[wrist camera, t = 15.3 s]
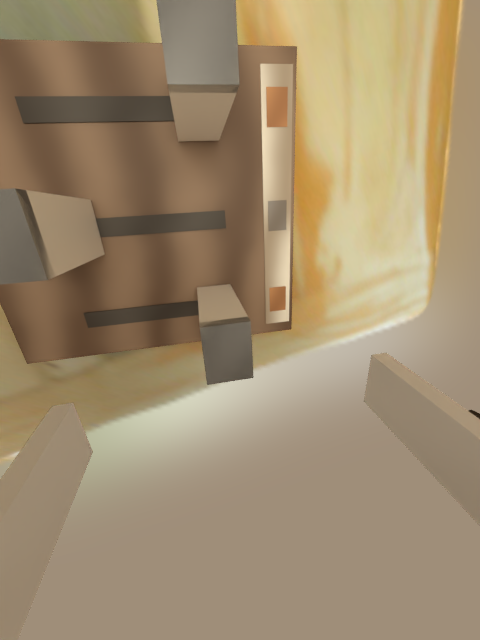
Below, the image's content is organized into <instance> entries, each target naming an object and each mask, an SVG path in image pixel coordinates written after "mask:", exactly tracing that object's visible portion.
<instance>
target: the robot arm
mask: <svg viewBox="0 0 480 640" xmlns="http://www.w3.org/2000/svg"><path fill="white" fill-rule="evenodd" d="M364 402H365V403H366V404H367V405H368V406H369V407H370V408H371V409H372V411H373V412H374V413H375V414H376V415H377V416H378V417H379V418H380V419H381V420H382V421H383V422H384V423H385V425H386V426H387V427H388V428H389V429H390V430H391V431H392V432H393V433H394V434H395V435H396V436H397V437H398V439H400V441H401V442H402V443H403V444H404V445H405V446H406V447H407V448H408V449H409V450H410V451H411V452H412V454H413V455H414V456H415V457H416V458H417V459H418V460H419V461H420V462H421V463H422V464H423V465H424V466H425V467H426V469H427V470H428V471H429V472H430V473H431V474H432V475H433V476H434V477H435V478H436V479H437V480H438V482H439V483H440V484H441V485H442V486H443V487H444V488H445V489H446V490H447V491H448V492H449V493H450V494H451V496H452V497H453V498H454V499H455V500H456V501H457V502H458V503H459V504H460V505H461V506H462V507H463V508H464V509H465V510H466V512H467V513H468V514H469V515H470V516H471V517H472V518H473V519H474V520H475V521H476V522H477V523H478V524H479V526H480V414H479V413H477V412H475V411H473V410H469V411H468V410H466V409H464V408H463V407H461V406H460V405H459V404H458V403H456V402H455V401H453V400H452V399H450V398H449V397H448V396H446V395H445V394H444V393H442V392H441V391H439V390H438V389H437V388H435V387H434V386H432V385H431V384H429V383H428V382H427V381H425V380H424V379H422V378H421V377H420V376H418V375H417V374H415V373H414V372H413V371H411V370H410V369H408V368H407V367H405V366H404V365H402V364H401V363H400V362H398V361H397V360H396V359H394V358H393V357H391V356H390V355H389V354H387V353H381V354H375V355H371V361H370V367H369V373H368V379H367V385H366V391H365V397H364ZM92 452H93V451H92V449H91V447H90V444H89V441H88V439H87V436H86V434H85V431H84V429H83V426H82V424H81V421H80V419H79V416H78V414H77V411H76V409H75V406H74V404H73V403H67V404H61V405H55V406H52V407H51V408H50V410H49V411H48V413H47V414H46V415H45V417H44V418H43V420H42V421H41V423H40V424H39V425H38V427H37V428H36V430H35V431H34V432H33V434H32V435H31V437H30V438H29V440H28V441H27V442H26V444H25V445H24V447H23V448H22V450H21V451H20V452H19V454H18V455H17V457H16V458H15V459H14V461H13V462H12V464H11V465H10V467H9V468H8V469H7V471H6V472H5V474H4V475H3V477H2V478H1V479H0V640H18V638H19V635H20V633H21V630H22V627H23V625H24V623H25V620H26V618H27V615H28V613H29V610H30V608H31V605H32V603H33V600H34V598H35V595H36V593H37V590H38V588H39V585H40V583H41V580H42V578H43V575H44V572H45V570H46V568H47V565H48V563H49V560H50V558H51V555H52V553H53V550H54V547H55V545H56V543H57V540H58V538H59V535H60V533H61V530H62V528H63V525H64V522H65V520H66V517H67V515H68V513H69V510H70V508H71V505H72V502H73V500H74V498H75V495H76V493H77V490H78V487H79V485H80V483H81V480H82V478H83V475H84V473H85V470H86V468H87V465H88V462H89V460H90V457H91V455H92Z"/></svg>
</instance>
